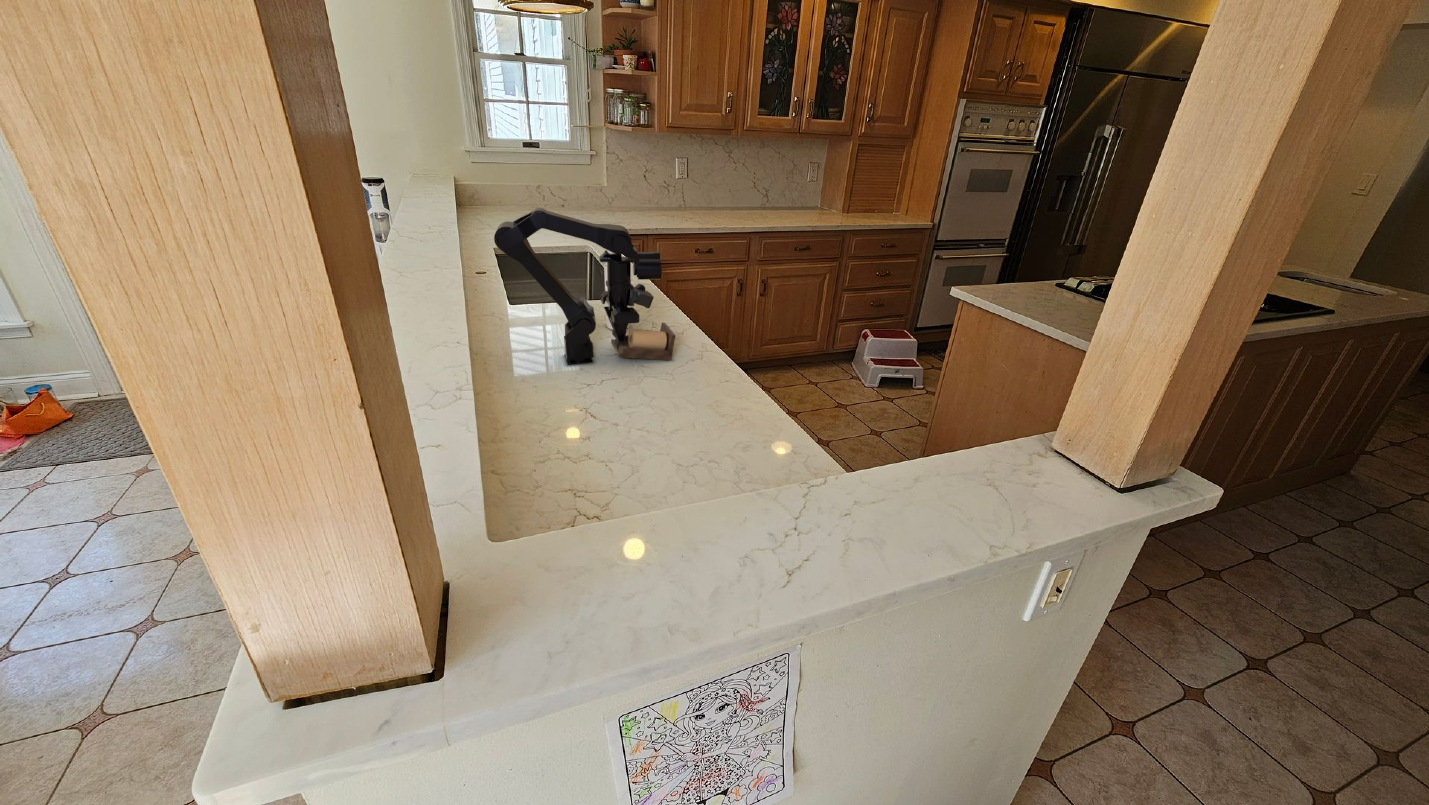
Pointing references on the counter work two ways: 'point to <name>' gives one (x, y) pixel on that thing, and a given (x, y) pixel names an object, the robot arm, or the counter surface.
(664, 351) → the tipping cradle
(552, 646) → the counter surface
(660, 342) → the paper roll
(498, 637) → the counter surface
